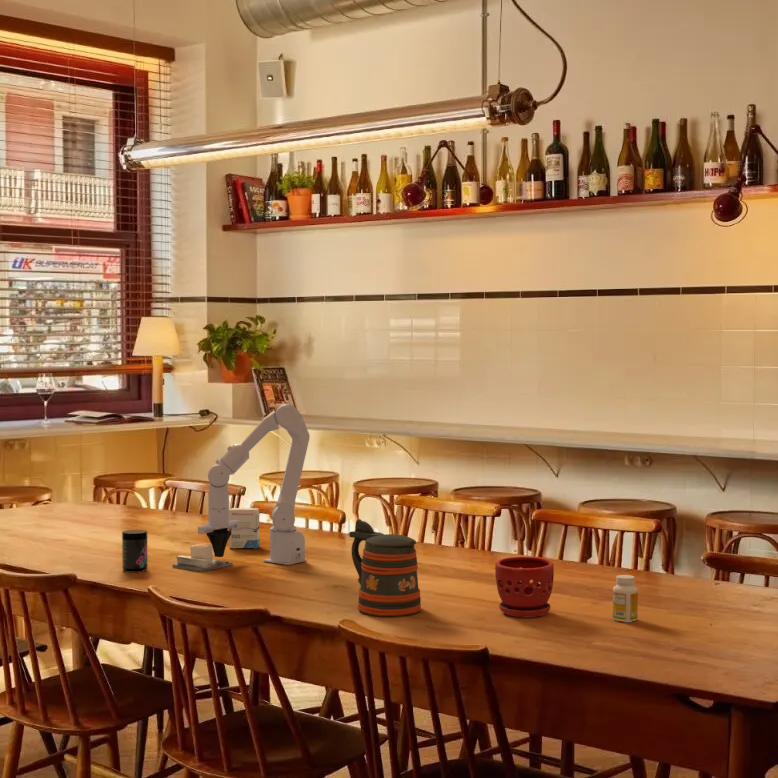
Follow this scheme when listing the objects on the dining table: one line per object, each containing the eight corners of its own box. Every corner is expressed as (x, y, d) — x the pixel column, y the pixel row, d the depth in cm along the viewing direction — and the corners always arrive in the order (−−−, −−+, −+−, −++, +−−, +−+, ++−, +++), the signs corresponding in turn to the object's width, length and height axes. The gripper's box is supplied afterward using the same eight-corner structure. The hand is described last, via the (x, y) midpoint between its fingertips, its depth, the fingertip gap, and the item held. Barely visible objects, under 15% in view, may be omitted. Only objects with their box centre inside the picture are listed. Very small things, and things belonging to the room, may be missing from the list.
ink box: (260, 546, 354) (260, 507, 354) (256, 549, 349) (256, 509, 349) (232, 546, 355) (232, 507, 354) (228, 548, 350) (228, 509, 350)
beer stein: (329, 609, 271) (329, 522, 270) (368, 598, 283) (368, 515, 282) (395, 620, 260) (395, 530, 259) (433, 608, 272) (433, 522, 271)
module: (212, 562, 324) (212, 543, 324) (203, 565, 319) (203, 546, 319) (199, 561, 325) (199, 543, 325) (190, 564, 320) (190, 545, 320)
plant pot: (490, 607, 273) (491, 556, 272) (546, 607, 273) (547, 555, 273) (500, 621, 260) (500, 567, 259) (558, 620, 260) (559, 566, 260)
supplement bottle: (634, 617, 263) (634, 573, 263) (640, 622, 258) (640, 578, 258) (610, 617, 263) (610, 574, 263) (615, 622, 258) (616, 578, 258)
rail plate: (232, 565, 324) (232, 554, 324) (201, 571, 314) (201, 561, 314) (203, 560, 331) (203, 550, 330) (172, 567, 321) (172, 556, 321)
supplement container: (133, 573, 312) (132, 534, 312) (116, 570, 317) (116, 531, 316) (153, 569, 318) (152, 531, 317) (136, 566, 322) (136, 528, 322)
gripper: (226, 503, 335) (226, 551, 336) (189, 509, 323) (190, 558, 324) (244, 505, 331) (244, 553, 332) (208, 511, 319) (208, 561, 320)
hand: (219, 556), depth 327 cm, fingers closed
